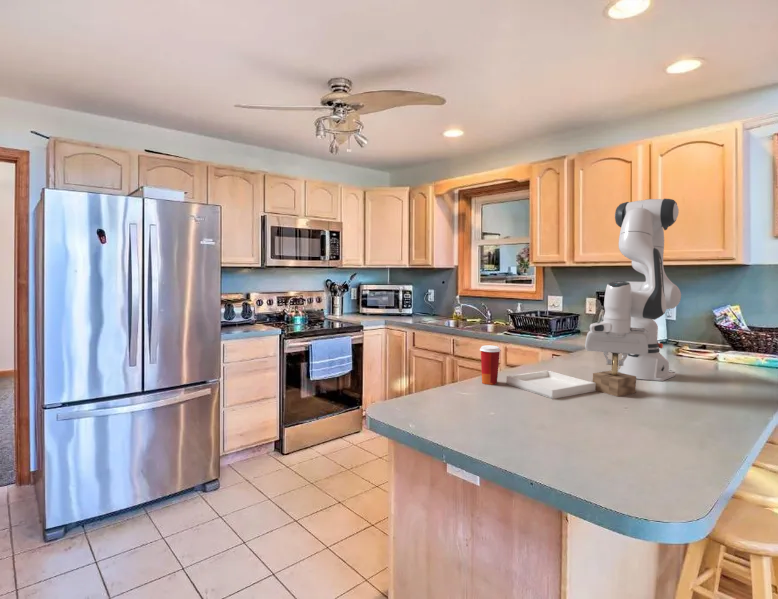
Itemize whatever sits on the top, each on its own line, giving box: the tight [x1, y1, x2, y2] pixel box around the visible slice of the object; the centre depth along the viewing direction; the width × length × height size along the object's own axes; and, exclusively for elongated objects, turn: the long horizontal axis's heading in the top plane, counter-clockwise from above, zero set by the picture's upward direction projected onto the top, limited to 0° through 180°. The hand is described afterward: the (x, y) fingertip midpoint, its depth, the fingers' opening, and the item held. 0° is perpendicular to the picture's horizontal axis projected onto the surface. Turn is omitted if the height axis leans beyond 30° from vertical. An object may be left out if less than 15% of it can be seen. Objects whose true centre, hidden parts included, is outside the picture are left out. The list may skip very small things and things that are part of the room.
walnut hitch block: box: [592, 370, 637, 397], centre depth 163 cm, size 10×10×6 cm
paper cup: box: [479, 344, 501, 386], centre depth 172 cm, size 8×8×14 cm
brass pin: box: [610, 353, 621, 376], centre depth 163 cm, size 3×3×15 cm
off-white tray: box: [505, 370, 596, 400], centre depth 167 cm, size 22×22×3 cm
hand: (614, 364), depth 162 cm, fingers closed on brass pin, 2 cm apart
